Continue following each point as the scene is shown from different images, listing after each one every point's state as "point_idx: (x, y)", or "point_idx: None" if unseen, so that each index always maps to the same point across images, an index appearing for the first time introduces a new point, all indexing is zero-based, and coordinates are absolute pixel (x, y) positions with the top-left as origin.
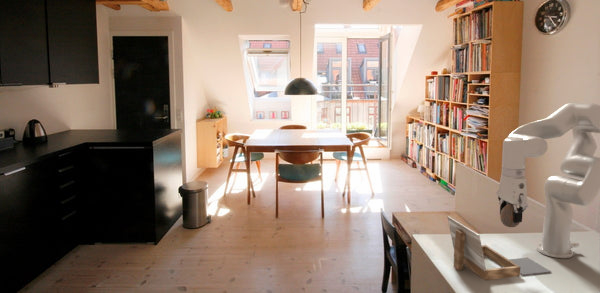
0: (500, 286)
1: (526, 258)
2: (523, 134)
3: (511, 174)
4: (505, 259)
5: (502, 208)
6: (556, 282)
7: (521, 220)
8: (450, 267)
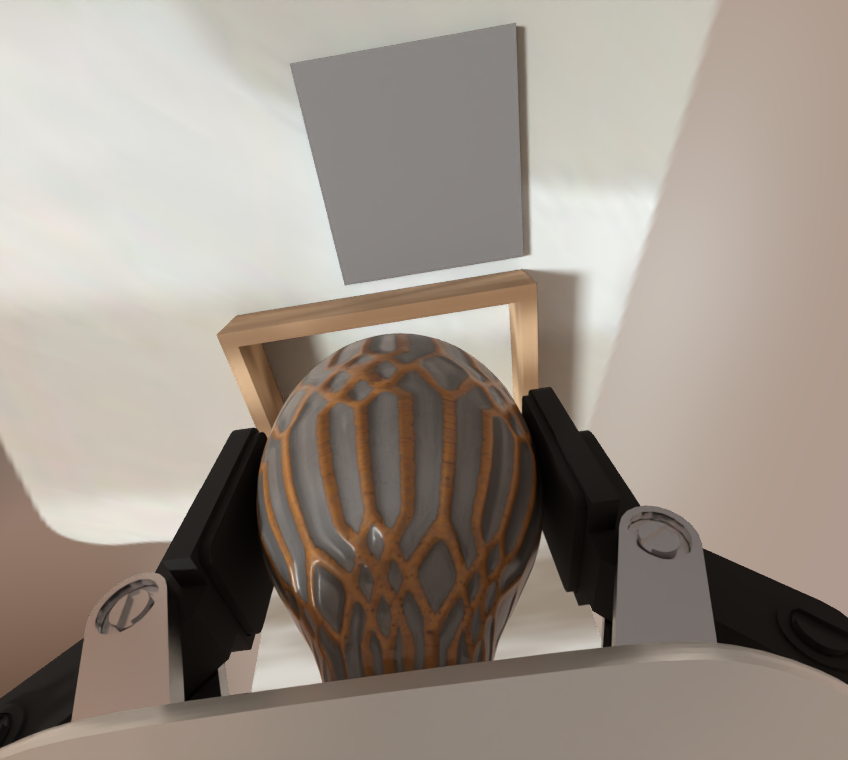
0: (588, 399)
1: (308, 85)
2: None
3: None
4: (429, 315)
5: (267, 588)
6: (632, 88)
7: (553, 400)
8: None
